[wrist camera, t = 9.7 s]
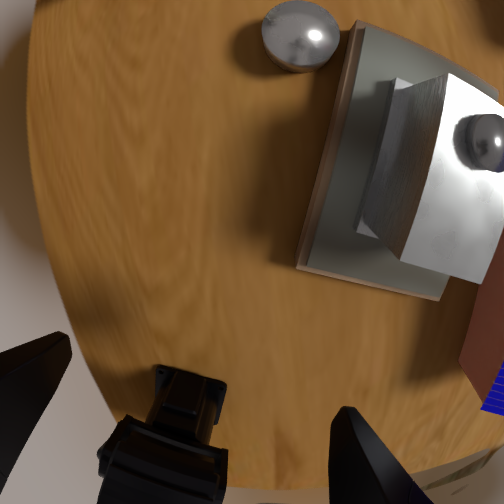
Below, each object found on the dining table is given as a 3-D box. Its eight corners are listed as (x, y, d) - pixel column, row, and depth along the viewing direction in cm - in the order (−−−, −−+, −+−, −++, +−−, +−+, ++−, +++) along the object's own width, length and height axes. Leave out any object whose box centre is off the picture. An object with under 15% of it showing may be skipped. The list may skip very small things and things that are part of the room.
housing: (434, 251, 17) (491, 303, 11) (352, 227, 17) (390, 278, 11) (471, 119, 14) (544, 121, 7) (390, 80, 14) (449, 52, 7)
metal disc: (326, 81, 16) (332, 73, 14) (257, 65, 16) (254, 55, 14) (337, 24, 15) (345, 11, 13) (271, 9, 15) (270, -6, 13)
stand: (428, 289, 20) (441, 305, 18) (294, 256, 20) (296, 272, 18) (483, 92, 15) (503, 90, 12) (350, 29, 15) (359, 16, 12)
